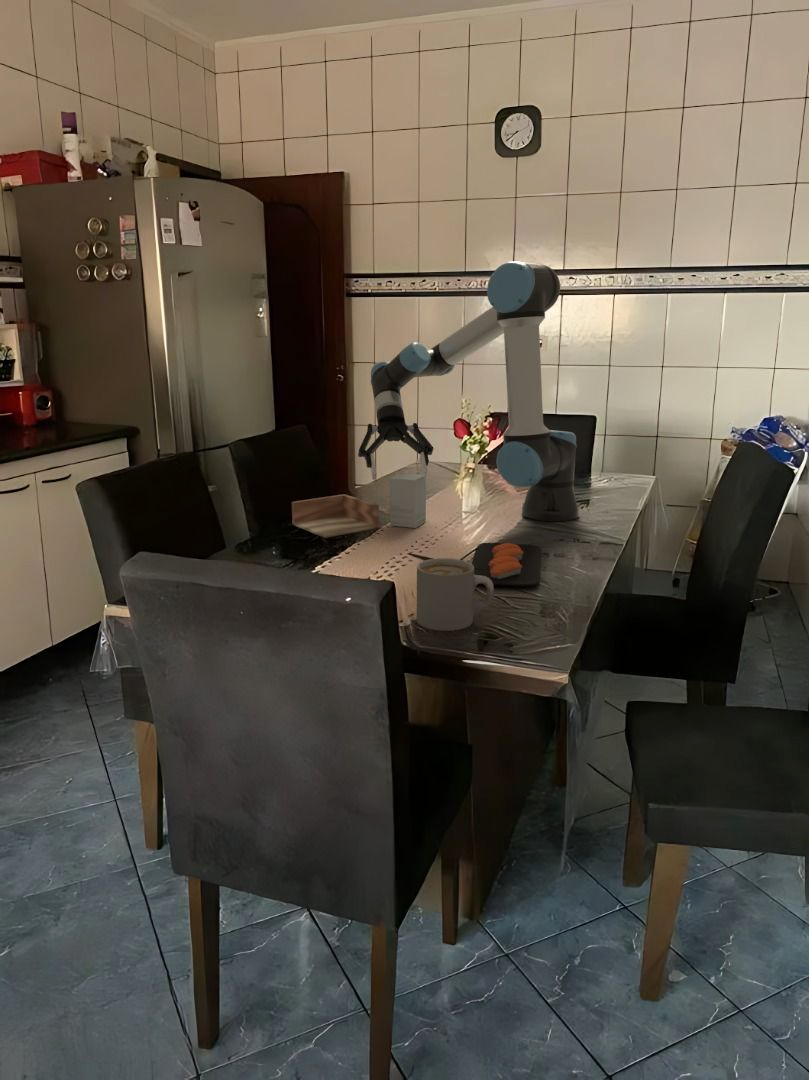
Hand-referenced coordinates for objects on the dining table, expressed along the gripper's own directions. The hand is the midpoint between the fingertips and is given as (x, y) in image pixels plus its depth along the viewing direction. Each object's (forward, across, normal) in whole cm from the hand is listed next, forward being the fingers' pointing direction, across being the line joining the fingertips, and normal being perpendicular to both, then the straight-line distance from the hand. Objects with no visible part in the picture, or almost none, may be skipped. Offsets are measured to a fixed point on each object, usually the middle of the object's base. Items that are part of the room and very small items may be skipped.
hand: (399, 476), depth 211 cm
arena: (+12, +18, -4) cm, 22 cm away
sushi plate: (+40, -7, +23) cm, 47 cm away
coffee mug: (+62, +5, +46) cm, 77 cm away
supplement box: (+13, -1, -3) cm, 13 cm away
